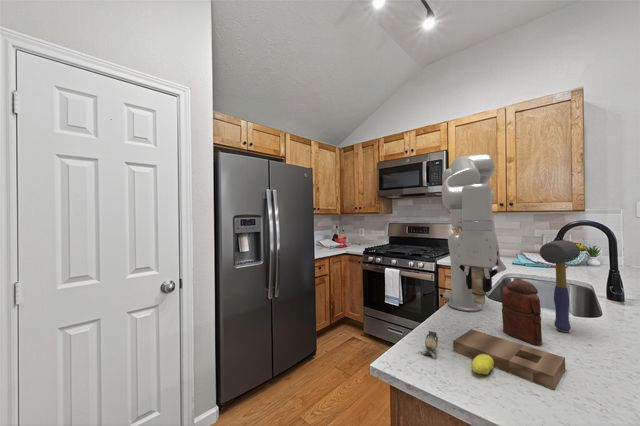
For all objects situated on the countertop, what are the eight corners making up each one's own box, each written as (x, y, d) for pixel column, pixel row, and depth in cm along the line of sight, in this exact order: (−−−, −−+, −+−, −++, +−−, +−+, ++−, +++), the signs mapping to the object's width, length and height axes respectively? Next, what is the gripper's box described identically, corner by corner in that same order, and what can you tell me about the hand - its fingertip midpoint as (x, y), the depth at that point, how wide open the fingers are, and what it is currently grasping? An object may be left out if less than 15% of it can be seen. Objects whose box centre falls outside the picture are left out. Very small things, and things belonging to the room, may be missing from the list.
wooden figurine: (550, 343, 79) (548, 283, 79) (538, 347, 76) (536, 286, 77) (509, 328, 90) (507, 275, 90) (497, 331, 87) (495, 277, 87)
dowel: (469, 302, 76) (468, 264, 76) (475, 299, 78) (474, 262, 78) (483, 305, 73) (482, 266, 73) (488, 302, 76) (487, 264, 76)
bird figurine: (425, 346, 79) (426, 326, 79) (443, 354, 75) (445, 333, 75) (417, 353, 75) (418, 332, 75) (436, 361, 71) (437, 339, 71)
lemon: (499, 370, 66) (498, 354, 66) (483, 381, 62) (483, 365, 62) (481, 362, 70) (481, 347, 70) (465, 373, 65) (465, 357, 65)
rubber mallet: (569, 340, 80) (566, 242, 81) (540, 331, 87) (537, 240, 87) (585, 330, 86) (582, 240, 87) (556, 322, 93) (553, 238, 93)
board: (453, 351, 75) (453, 340, 76) (471, 338, 83) (471, 329, 83) (554, 389, 58) (553, 376, 58) (565, 369, 66) (564, 357, 66)
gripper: (442, 226, 80) (444, 286, 80) (506, 228, 67) (508, 300, 67) (454, 225, 85) (455, 281, 85) (515, 226, 72) (517, 293, 72)
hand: (478, 289), depth 76 cm, fingers closed on dowel, 3 cm apart
